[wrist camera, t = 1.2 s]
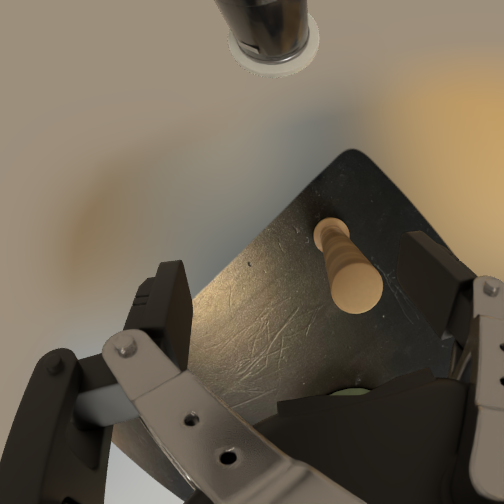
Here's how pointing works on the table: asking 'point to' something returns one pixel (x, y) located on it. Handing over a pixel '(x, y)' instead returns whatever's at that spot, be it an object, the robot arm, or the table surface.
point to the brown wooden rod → (347, 268)
